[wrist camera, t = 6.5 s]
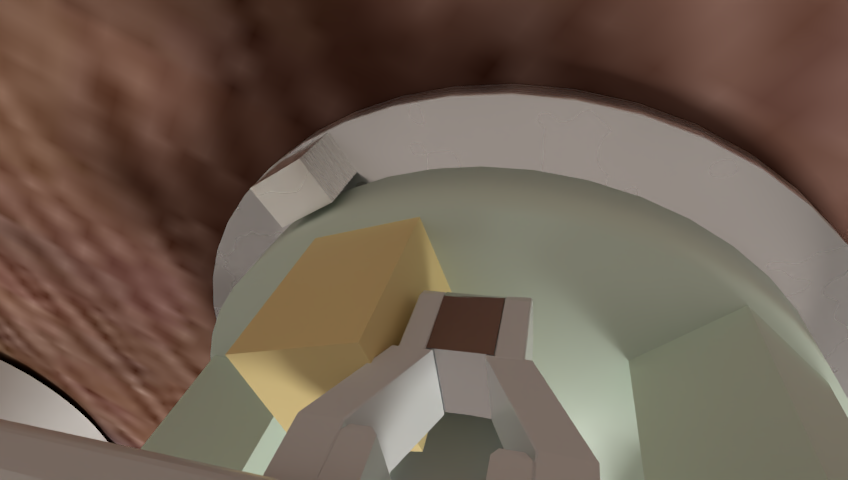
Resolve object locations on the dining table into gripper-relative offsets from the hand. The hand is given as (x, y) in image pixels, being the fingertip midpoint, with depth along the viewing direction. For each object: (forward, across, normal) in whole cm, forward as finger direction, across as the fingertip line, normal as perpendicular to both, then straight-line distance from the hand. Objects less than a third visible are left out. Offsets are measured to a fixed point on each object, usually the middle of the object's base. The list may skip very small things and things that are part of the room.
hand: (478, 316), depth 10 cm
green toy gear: (+4, -1, -9) cm, 10 cm away
